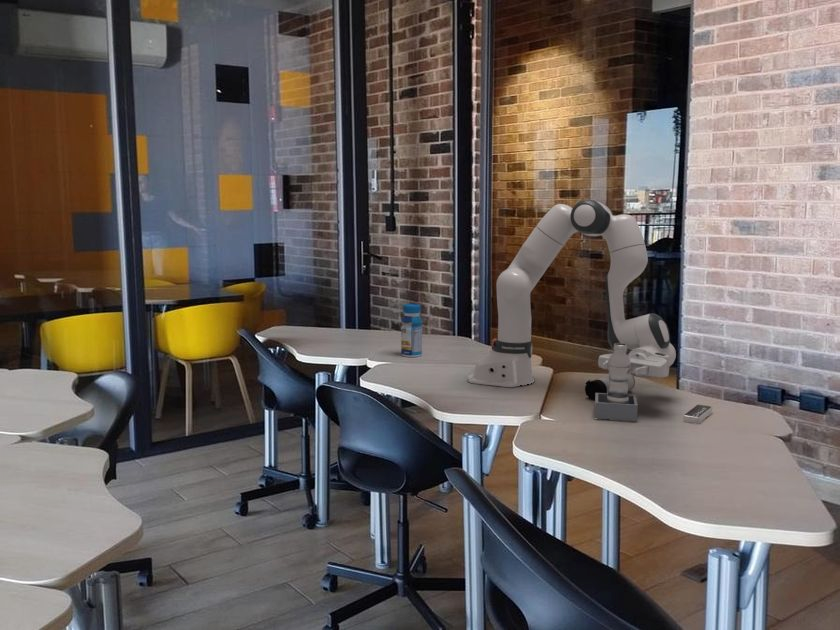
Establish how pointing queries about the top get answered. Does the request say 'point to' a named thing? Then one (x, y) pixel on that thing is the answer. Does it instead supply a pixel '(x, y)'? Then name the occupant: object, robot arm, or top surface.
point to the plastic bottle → (618, 375)
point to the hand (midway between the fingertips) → (619, 369)
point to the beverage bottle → (411, 331)
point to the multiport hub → (697, 414)
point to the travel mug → (603, 386)
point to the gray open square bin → (615, 408)
